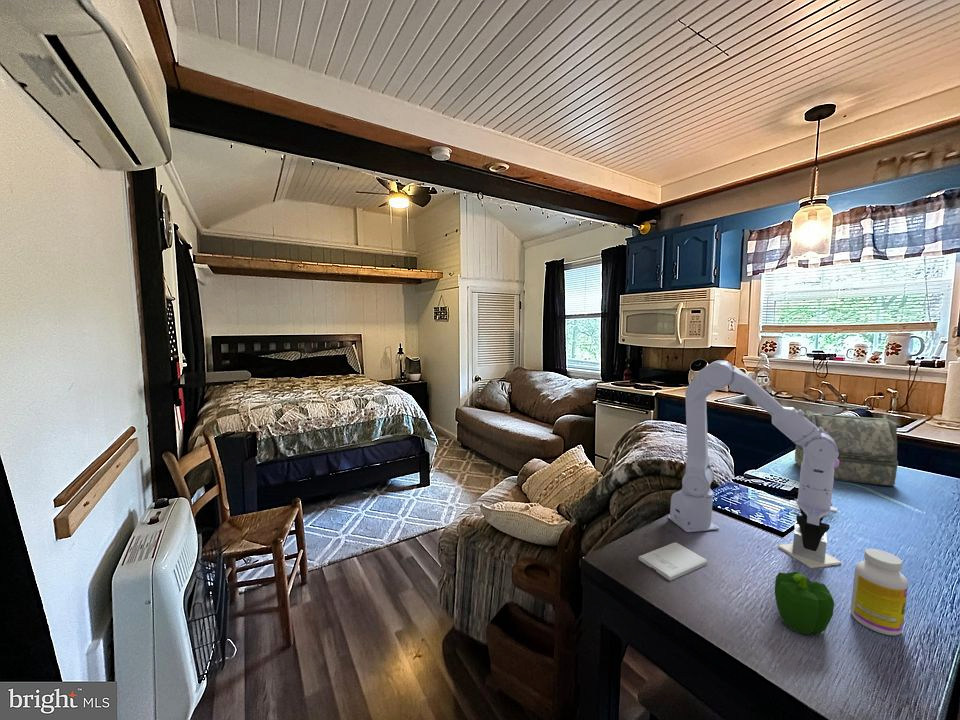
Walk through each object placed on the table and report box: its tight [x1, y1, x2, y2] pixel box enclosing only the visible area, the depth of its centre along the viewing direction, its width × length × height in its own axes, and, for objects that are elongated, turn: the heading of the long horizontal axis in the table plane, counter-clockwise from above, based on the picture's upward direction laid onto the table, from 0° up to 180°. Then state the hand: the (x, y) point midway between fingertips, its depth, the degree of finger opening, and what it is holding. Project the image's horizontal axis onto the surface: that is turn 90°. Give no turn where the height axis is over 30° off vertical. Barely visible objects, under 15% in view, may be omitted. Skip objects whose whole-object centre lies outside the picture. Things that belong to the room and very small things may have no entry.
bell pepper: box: [774, 571, 835, 635], centre depth 70 cm, size 8×8×10 cm
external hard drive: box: [638, 542, 708, 582], centre depth 88 cm, size 2×8×12 cm
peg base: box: [777, 542, 842, 569], centre depth 90 cm, size 8×8×5 cm
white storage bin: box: [792, 523, 828, 563], centre depth 90 cm, size 6×6×5 cm
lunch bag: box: [794, 410, 899, 486], centre depth 137 cm, size 26×18×22 cm
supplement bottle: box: [850, 548, 909, 636], centre depth 70 cm, size 7×7×13 cm
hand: (809, 541), depth 90 cm, fingers open, 7 cm apart
